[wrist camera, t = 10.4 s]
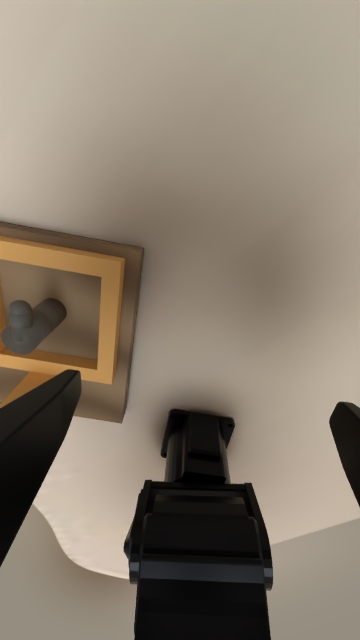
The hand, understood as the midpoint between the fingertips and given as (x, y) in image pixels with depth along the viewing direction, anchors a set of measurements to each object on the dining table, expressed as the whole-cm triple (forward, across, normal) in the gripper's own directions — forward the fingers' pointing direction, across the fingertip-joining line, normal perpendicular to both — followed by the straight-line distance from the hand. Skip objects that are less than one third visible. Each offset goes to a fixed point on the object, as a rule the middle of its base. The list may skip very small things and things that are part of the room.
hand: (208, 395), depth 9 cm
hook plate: (+12, +11, +6) cm, 17 cm away
